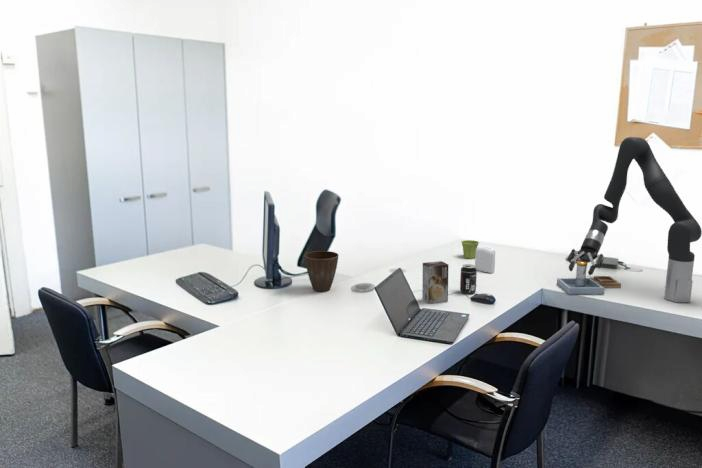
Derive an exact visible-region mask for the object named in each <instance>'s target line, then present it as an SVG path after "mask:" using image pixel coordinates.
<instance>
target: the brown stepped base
mask: <svg viewBox="0 0 702 468" xmlns="http://www.w3.org/2000/svg"><path fill="white" fill-rule="evenodd" d="M588 278H591V279H592V280H594V281H595V282H597V283H598V284H599V285H601V286H602V287H604V288H605V289H621V288H622V287H621V286H622V283H621V282H619V281H618V280H616V279H614V278H613V277H611V276H610V275H595V276H591V277H588Z"/></svg>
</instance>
